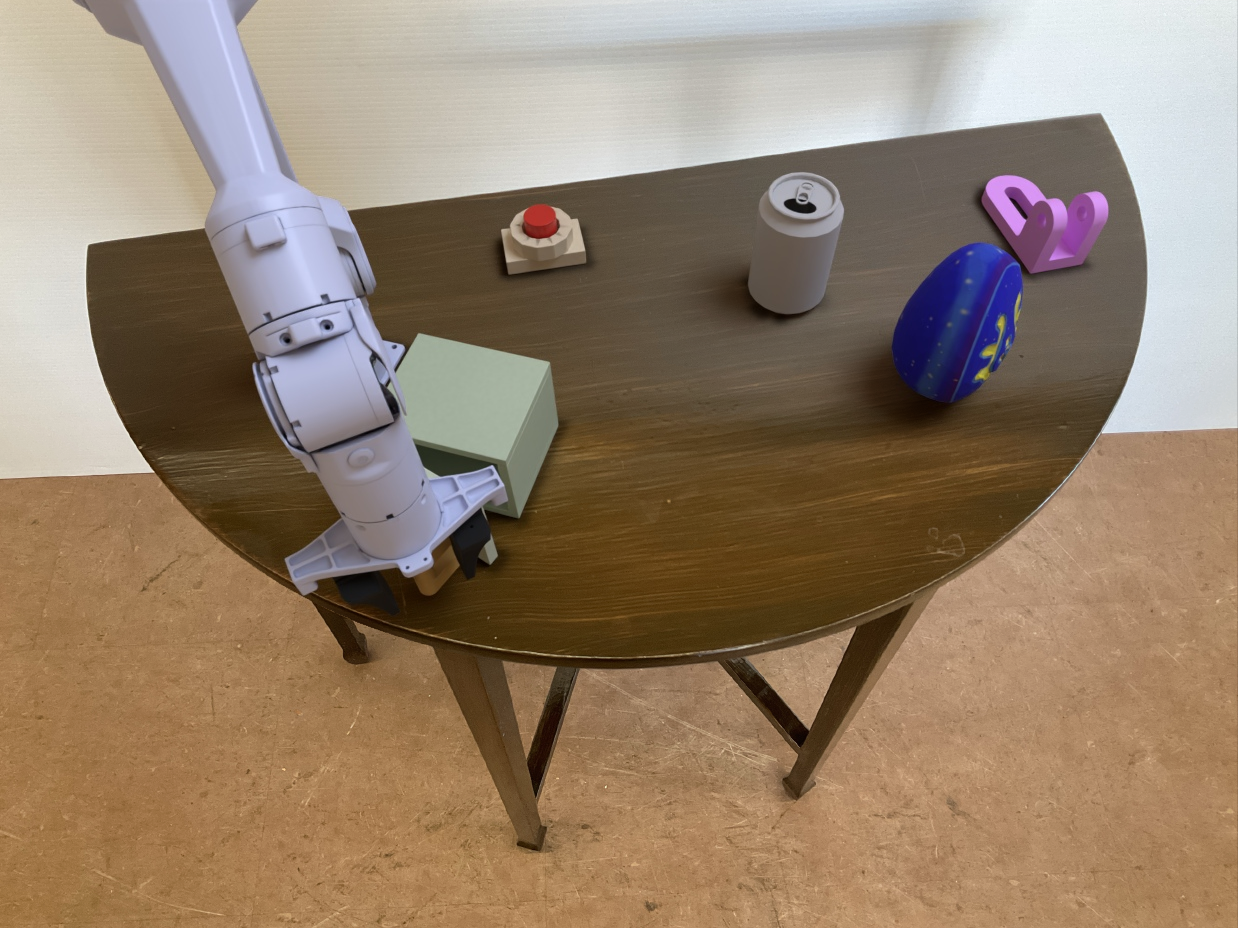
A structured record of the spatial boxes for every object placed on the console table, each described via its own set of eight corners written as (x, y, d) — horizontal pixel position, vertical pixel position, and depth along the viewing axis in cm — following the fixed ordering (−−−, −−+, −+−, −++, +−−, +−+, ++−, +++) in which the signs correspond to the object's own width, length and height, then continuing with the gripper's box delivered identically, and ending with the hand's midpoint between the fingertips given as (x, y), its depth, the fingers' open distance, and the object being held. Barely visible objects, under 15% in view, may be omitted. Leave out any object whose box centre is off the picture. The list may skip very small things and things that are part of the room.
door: (446, 616, 66) (423, 567, 59) (338, 542, 70) (305, 488, 63) (498, 555, 69) (482, 502, 62) (391, 488, 72) (365, 430, 65)
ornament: (952, 441, 74) (1015, 321, 61) (858, 390, 77) (900, 266, 65) (1007, 364, 79) (1076, 237, 66) (917, 319, 82) (966, 190, 69)
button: (527, 241, 85) (525, 228, 83) (523, 220, 86) (521, 206, 85) (559, 237, 85) (557, 223, 83) (554, 216, 87) (553, 202, 85)
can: (737, 308, 83) (750, 209, 73) (759, 258, 87) (774, 157, 77) (812, 328, 82) (836, 230, 72) (832, 276, 85) (857, 176, 75)
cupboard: (519, 519, 71) (505, 460, 63) (391, 486, 73) (364, 426, 66) (558, 425, 76) (550, 361, 69) (438, 397, 78) (418, 332, 71)
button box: (509, 278, 86) (504, 252, 83) (502, 238, 90) (497, 211, 87) (587, 267, 87) (585, 240, 84) (577, 227, 90) (575, 200, 87)
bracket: (1082, 264, 85) (1114, 208, 80) (1030, 273, 85) (1058, 218, 79) (1020, 182, 93) (1046, 125, 87) (972, 190, 92) (995, 134, 86)
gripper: (279, 587, 48) (351, 677, 59) (514, 480, 52) (540, 584, 63) (248, 496, 52) (321, 597, 63) (468, 402, 55) (501, 513, 66)
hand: (428, 586), depth 63 cm, fingers open, 5 cm apart
